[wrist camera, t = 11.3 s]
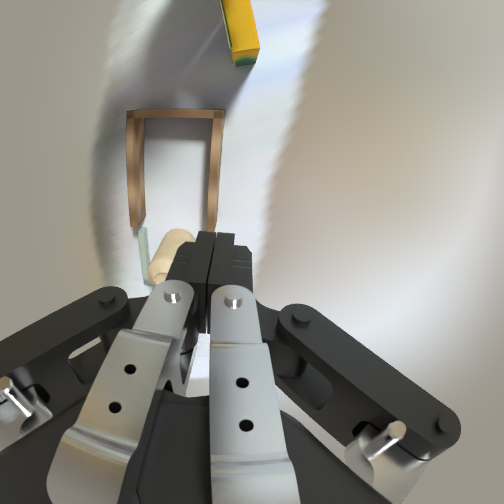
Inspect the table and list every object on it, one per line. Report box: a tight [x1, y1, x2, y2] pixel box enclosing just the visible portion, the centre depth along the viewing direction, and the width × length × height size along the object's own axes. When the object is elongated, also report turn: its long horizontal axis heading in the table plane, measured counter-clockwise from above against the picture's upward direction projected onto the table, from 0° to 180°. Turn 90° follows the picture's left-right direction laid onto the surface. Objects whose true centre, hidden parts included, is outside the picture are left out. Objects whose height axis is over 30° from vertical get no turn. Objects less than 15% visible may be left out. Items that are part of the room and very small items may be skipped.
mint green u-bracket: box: [138, 227, 153, 285], centre depth 43 cm, size 10×12×2 cm
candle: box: [147, 229, 196, 286], centre depth 38 cm, size 6×6×10 cm
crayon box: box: [219, 0, 260, 66], centre depth 22 cm, size 7×3×12 cm, turn 10°
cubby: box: [126, 109, 225, 232], centre depth 34 cm, size 16×12×4 cm
